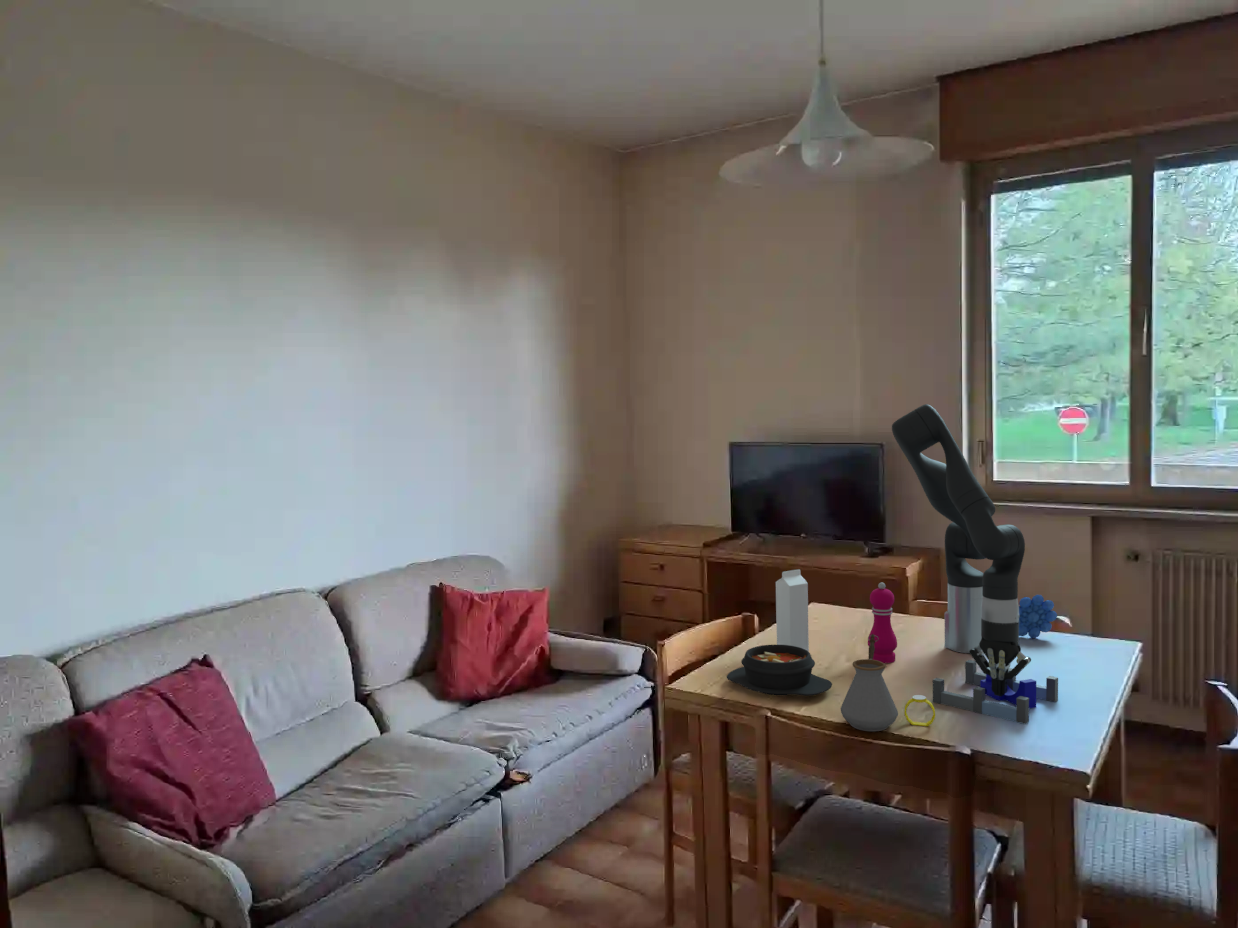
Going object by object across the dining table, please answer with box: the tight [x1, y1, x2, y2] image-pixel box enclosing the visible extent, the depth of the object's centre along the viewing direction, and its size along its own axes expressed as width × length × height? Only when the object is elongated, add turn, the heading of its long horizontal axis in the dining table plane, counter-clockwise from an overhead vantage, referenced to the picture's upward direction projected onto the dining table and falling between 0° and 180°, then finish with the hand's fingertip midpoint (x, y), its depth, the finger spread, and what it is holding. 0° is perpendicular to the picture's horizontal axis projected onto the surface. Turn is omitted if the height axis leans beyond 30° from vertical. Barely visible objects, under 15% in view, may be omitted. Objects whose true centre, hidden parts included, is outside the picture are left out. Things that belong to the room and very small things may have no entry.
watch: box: [903, 694, 936, 727], centre depth 181 cm, size 6×3×6 cm, turn 71°
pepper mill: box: [867, 582, 898, 664], centre depth 224 cm, size 7×7×20 cm
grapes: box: [1018, 594, 1058, 639], centre depth 239 cm, size 12×7×12 cm, turn 69°
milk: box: [775, 568, 810, 653], centre depth 232 cm, size 6×6×22 cm
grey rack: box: [932, 659, 1059, 725], centre depth 193 cm, size 20×18×5 cm
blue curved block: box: [979, 674, 1037, 709], centre depth 194 cm, size 12×4×6 cm, turn 17°
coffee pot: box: [840, 634, 899, 732], centre depth 187 cm, size 21×12×15 cm, turn 160°
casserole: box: [726, 644, 833, 697], centre depth 206 cm, size 25×19×8 cm
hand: (999, 694), depth 192 cm, fingers closed
